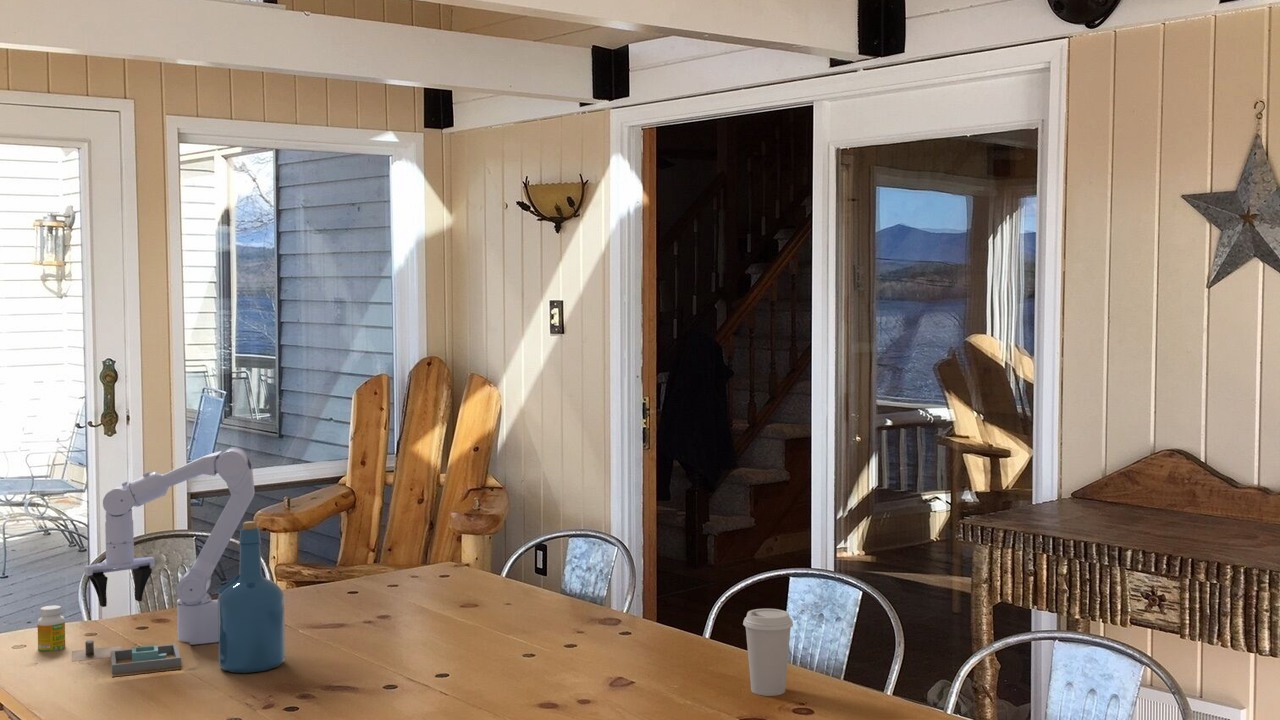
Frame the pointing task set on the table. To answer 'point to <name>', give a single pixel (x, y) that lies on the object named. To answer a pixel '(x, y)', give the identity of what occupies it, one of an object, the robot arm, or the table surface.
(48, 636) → the supplement bottle
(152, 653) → the teal ring
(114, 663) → the tray
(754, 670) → the coffee cup
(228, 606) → the wine bottle
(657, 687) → the table surface
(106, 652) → the board
